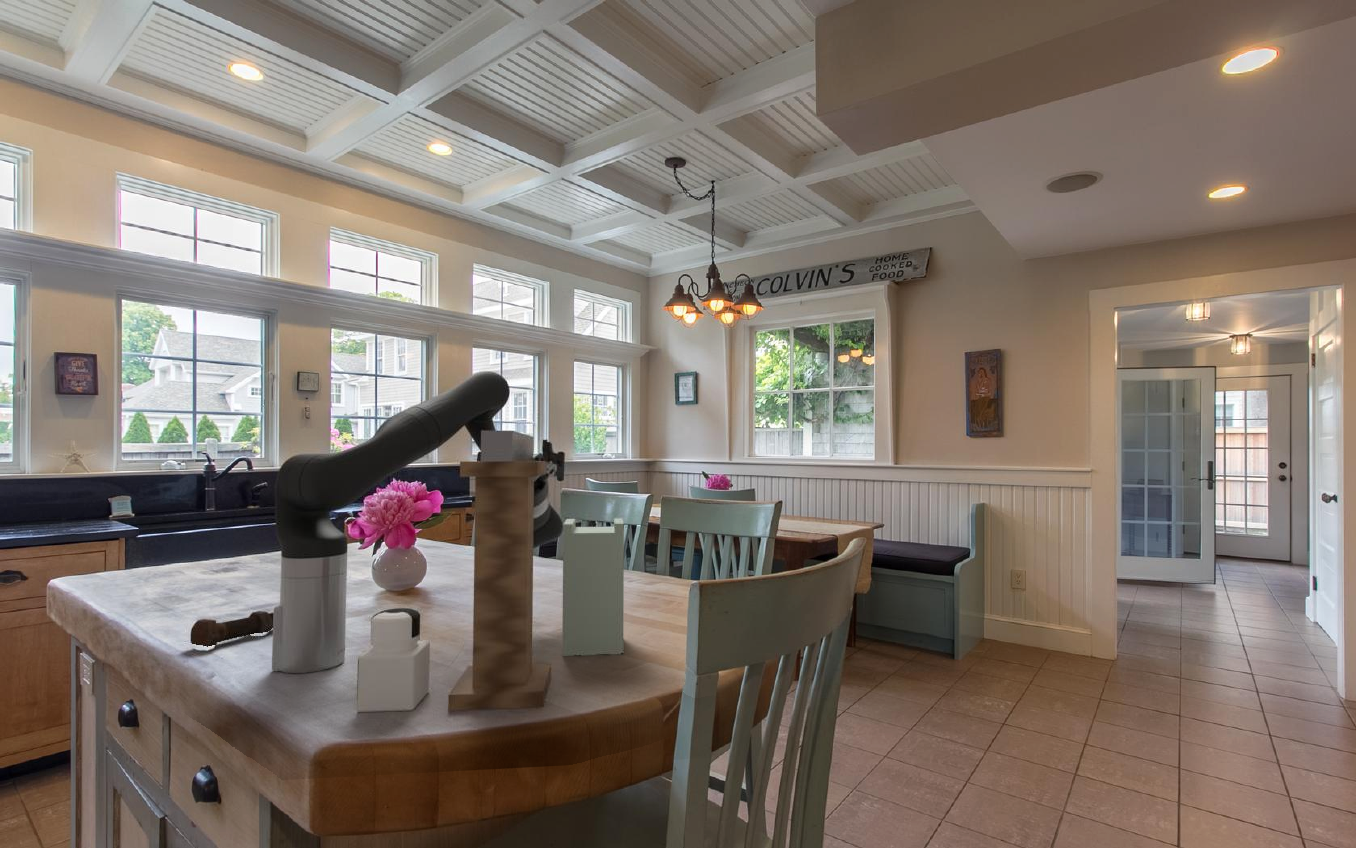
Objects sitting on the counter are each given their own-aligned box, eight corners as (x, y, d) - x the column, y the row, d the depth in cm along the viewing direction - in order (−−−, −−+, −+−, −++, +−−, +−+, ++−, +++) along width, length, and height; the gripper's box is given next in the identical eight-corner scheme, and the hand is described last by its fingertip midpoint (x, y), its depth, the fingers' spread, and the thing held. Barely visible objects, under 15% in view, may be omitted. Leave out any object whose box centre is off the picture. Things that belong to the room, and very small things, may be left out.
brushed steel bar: (480, 461, 84) (481, 430, 84) (508, 461, 108) (508, 436, 108) (512, 461, 84) (512, 430, 85) (533, 461, 108) (533, 437, 108)
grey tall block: (562, 656, 107) (563, 524, 108) (566, 639, 117) (566, 518, 118) (623, 654, 108) (623, 523, 109) (622, 637, 118) (622, 518, 119)
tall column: (448, 711, 84) (452, 461, 86) (467, 679, 96) (471, 461, 97) (543, 706, 85) (545, 461, 87) (550, 676, 97) (552, 461, 99)
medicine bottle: (376, 693, 90) (378, 605, 91) (429, 691, 91) (431, 604, 92) (355, 713, 83) (358, 618, 84) (413, 711, 84) (415, 616, 84)
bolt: (283, 640, 124) (201, 659, 110) (268, 624, 126) (185, 642, 112) (295, 614, 124) (214, 630, 110) (280, 599, 125) (198, 613, 111)
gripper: (489, 472, 119) (474, 423, 105) (568, 472, 120) (563, 424, 107) (484, 510, 115) (468, 464, 101) (566, 509, 116) (561, 464, 103)
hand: (517, 443), depth 104 cm, fingers open, 8 cm apart
